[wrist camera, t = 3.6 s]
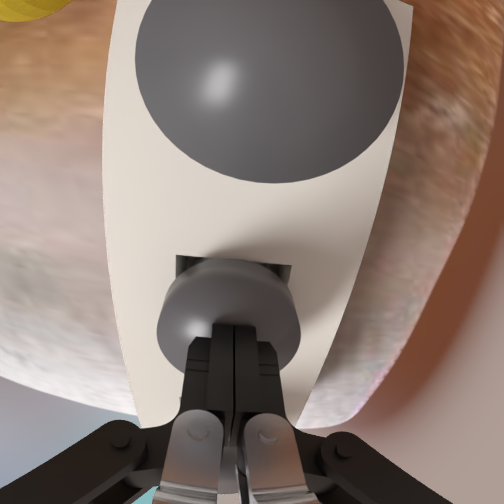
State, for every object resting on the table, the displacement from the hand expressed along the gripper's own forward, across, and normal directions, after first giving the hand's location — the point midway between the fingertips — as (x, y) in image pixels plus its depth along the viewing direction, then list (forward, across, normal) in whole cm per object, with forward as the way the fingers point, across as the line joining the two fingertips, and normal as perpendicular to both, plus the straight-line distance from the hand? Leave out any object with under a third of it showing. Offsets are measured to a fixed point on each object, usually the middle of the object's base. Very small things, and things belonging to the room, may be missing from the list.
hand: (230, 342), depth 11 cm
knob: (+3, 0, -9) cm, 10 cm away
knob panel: (+7, 0, 0) cm, 7 cm away
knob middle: (+5, 0, 0) cm, 5 cm away
